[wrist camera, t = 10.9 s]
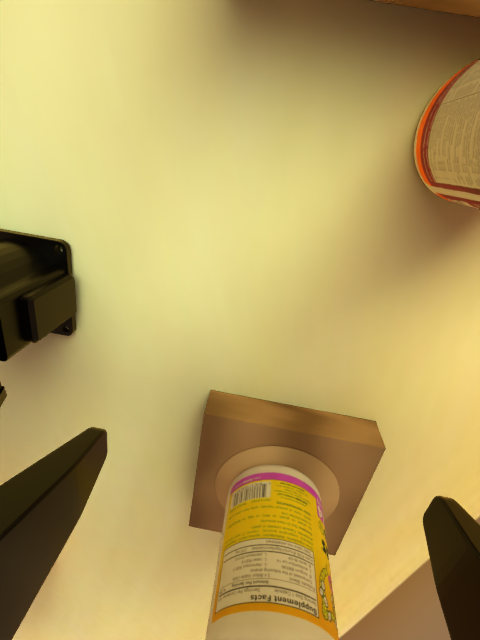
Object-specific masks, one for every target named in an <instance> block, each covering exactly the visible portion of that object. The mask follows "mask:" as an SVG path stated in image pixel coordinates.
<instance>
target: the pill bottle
mask: <svg viewBox="0 0 480 640" xmlns="http://www.w3.org/2000/svg"><path fill="white" fill-rule="evenodd" d="M414 159H415V164H416V168H417V171H418V174H419V175H420V177H421V179H422V181H423V182H424V184H425V185H426V186H427V187H428V188H429V189H430V190H431V191H432V192H433V193H434V194H436V195H437V196H439V197H441V198H443V199H445V200H448V201H451V202H454V203H458V204H461V205H465V206H470V207H474V208H477V209H480V59H478V60H476V61H474V62H473V63H471V64H469V65H467V66H466V67H464V68H463V69H461V70H460V71H458V72H457V73H456V74H454V75H453V76H452V77H451V78H449V79H448V80H447V81H446V82H445V83H444V84H443V85H442V86H441V87H440V88H439V90H438V91H437V92H436V93H435V94H434V96H433V97H432V99H431V100H430V102H429V103H428V105H427V107H426V108H425V110H424V112H423V114H422V116H421V119H420V121H419V124H418V127H417V131H416V135H415V141H414Z"/></svg>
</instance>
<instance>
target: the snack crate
mask: <svg viewBox="0 0 480 640" xmlns="http://www.w3.org/2000/svg"><path fill="white" fill-rule="evenodd" d="M371 1H378V2H384V3H391V4H397V5H404V6H410V7H416V8H423V9H429V10H436V11H442V12H449V13H455V14H462V15H468V16H475V17H480V0H371Z"/></svg>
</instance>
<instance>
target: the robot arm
mask: <svg viewBox="0 0 480 640" xmlns="http://www.w3.org/2000/svg"><path fill="white" fill-rule="evenodd" d="M58 246H61V247H62V249H63V251H60V250H59V248H58ZM75 313H76V297H75V283H74V277H73V276H72V266H71V252H70V246H69V245H68V243H67V242H66V241H64V240H60V239H55V238H49V237H43V236H38V235H32V234H27V233H21V232H16V231H10V230H4V229H0V361H6V360H8V359H9V358H11V357H12V356H13V355H15V354H16V353H17V352H19V351H20V350H21V349H23V348H24V347H25V346H27V345H28V344H29V343H31V342H32V343H37V342H38V341H40V340H41V339H42V338H43V337H45V336H46V335H47V334H49V333H55V334H61V335H66V336H69V335H71V334H72V333H74V332H75V330H76V320H75ZM66 326H67V327H68V328H69V329H67V328H66ZM6 396H7V393H6V390H5V387H4V386H1V383H0V407H1V405H2V404H3V402H4V400H5V398H6ZM106 456H107V432H106V430H105V429H101V428H96V427H91V428H88V429H87V430H85V431H84V432H82V433H81V434H79V435H78V436H76V437H75V438H73V439H71V440H70V441H68V442H67V443H65V444H64V445H62V446H61V447H59V448H58V449H56V450H55V451H53V452H51V453H50V454H48V455H47V456H45V457H44V458H42V459H41V460H39V461H38V462H36V463H34V464H33V465H31V466H30V467H28V468H27V469H25V470H24V471H22V472H21V473H19V474H18V475H16V476H14V477H13V478H11V479H10V480H8V481H7V482H5V483H4V484H2V485H1V486H0V640H12V638H13V636H14V635H15V633H16V631H17V629H18V628H19V626H20V624H21V622H22V620H23V619H24V617H25V615H26V613H27V611H28V610H29V608H30V606H31V604H32V602H33V601H34V599H35V597H36V595H37V594H38V592H39V590H40V588H41V586H42V585H43V583H44V581H45V579H46V577H47V576H48V574H49V572H50V570H51V568H52V567H53V565H54V563H55V561H56V559H57V558H58V556H59V554H60V552H61V551H62V549H63V547H64V545H65V543H66V542H67V540H68V538H69V536H70V534H71V533H72V531H73V529H74V527H75V525H76V524H77V522H78V520H79V518H80V516H81V514H82V512H83V510H84V507H85V505H86V503H87V501H88V498H89V496H90V494H91V491H92V489H93V487H94V484H95V482H96V480H97V478H98V475H99V473H100V471H101V468H102V466H103V464H104V461H105V459H106ZM423 526H424V531H425V536H426V541H427V546H428V551H429V556H430V561H431V566H432V571H433V576H434V580H435V585H436V589H437V593H438V596H439V600H440V603H441V607H442V610H443V613H444V617H445V620H446V623H447V627H448V630H449V634H450V637H451V640H480V525H479V524H478V523H477V522H476V521H475V520H474V519H473V518H472V517H471V516H470V515H469V514H468V513H467V512H466V511H465V510H464V509H463V508H462V507H461V506H460V505H459V504H458V503H457V502H456V501H455V500H454V499H452V498H448V497H443V496H436V497H435V498H434V499H433V500H432V502H431V504H430V505H429V507H428V508H427V510H426V512H425V513H424V516H423Z"/></svg>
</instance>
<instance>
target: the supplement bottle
mask: <svg viewBox="0 0 480 640" xmlns="http://www.w3.org/2000/svg"><path fill="white" fill-rule="evenodd" d="M205 640H339V638H338V630H337V622H336V614H335V606H334V598H333V591H332V582H331V574H330V565H329V558H328V549H327V541H326V533H325V525H324V517H323V510H322V504H321V498H320V494H319V492H318V489H317V487H316V486H315V484H314V483H313V482H312V481H311V480H310V479H309V478H308V477H307V476H306V475H304V474H303V473H301V472H299V471H298V470H295V469H293V468H290V467H286V466H281V465H259V466H255V467H252V468H249V469H247V470H245V471H244V472H242V473H241V474H239V475H238V476H237V477H236V478H235V479H234V481H233V482H232V484H231V486H230V488H229V492H228V497H227V503H226V509H225V516H224V523H223V529H222V536H221V542H220V549H219V556H218V562H217V569H216V576H215V582H214V588H213V595H212V601H211V608H210V614H209V620H208V626H207V633H206V639H205Z"/></svg>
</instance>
